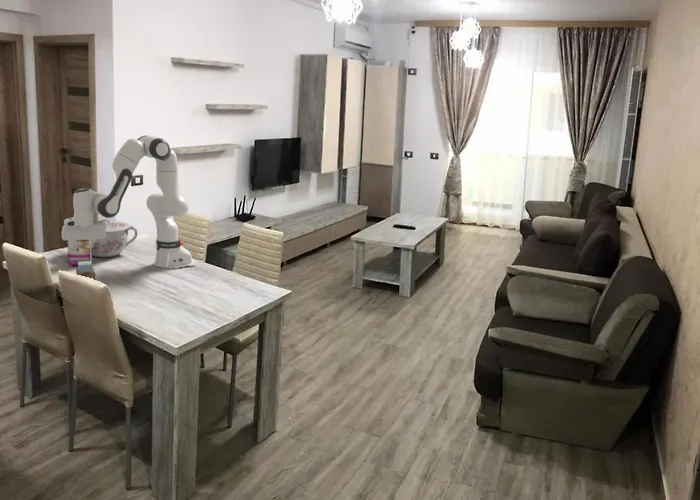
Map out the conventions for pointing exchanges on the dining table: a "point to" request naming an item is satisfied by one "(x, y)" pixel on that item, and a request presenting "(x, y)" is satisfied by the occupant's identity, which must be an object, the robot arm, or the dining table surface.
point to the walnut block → (87, 273)
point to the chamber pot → (113, 239)
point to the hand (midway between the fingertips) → (84, 248)
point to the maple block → (84, 246)
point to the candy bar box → (77, 254)
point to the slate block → (85, 266)
